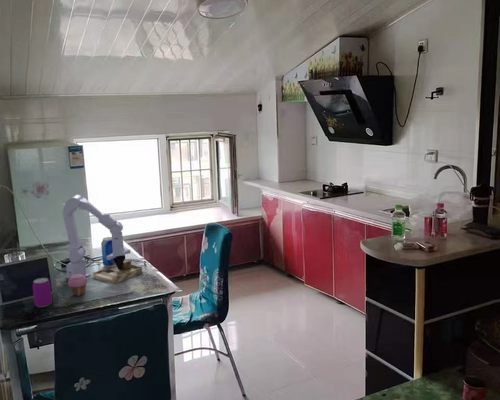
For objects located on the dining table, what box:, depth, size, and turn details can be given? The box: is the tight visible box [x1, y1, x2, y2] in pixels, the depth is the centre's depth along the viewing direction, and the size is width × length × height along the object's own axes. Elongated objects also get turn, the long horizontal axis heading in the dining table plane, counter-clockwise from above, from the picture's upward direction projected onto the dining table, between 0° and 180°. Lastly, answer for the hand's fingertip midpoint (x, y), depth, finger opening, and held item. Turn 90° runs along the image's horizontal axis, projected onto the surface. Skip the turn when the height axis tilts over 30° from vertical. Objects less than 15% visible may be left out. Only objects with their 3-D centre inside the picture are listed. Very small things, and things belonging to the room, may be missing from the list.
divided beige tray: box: [92, 263, 143, 285], centre depth 270 cm, size 20×16×4 cm
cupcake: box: [67, 274, 88, 297], centre depth 244 cm, size 9×9×10 cm
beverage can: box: [32, 277, 53, 308], centre depth 232 cm, size 8×8×12 cm
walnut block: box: [121, 258, 132, 271], centre depth 274 cm, size 4×4×4 cm
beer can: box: [101, 236, 116, 268], centre depth 286 cm, size 8×8×16 cm
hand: (119, 269), depth 271 cm, fingers closed
